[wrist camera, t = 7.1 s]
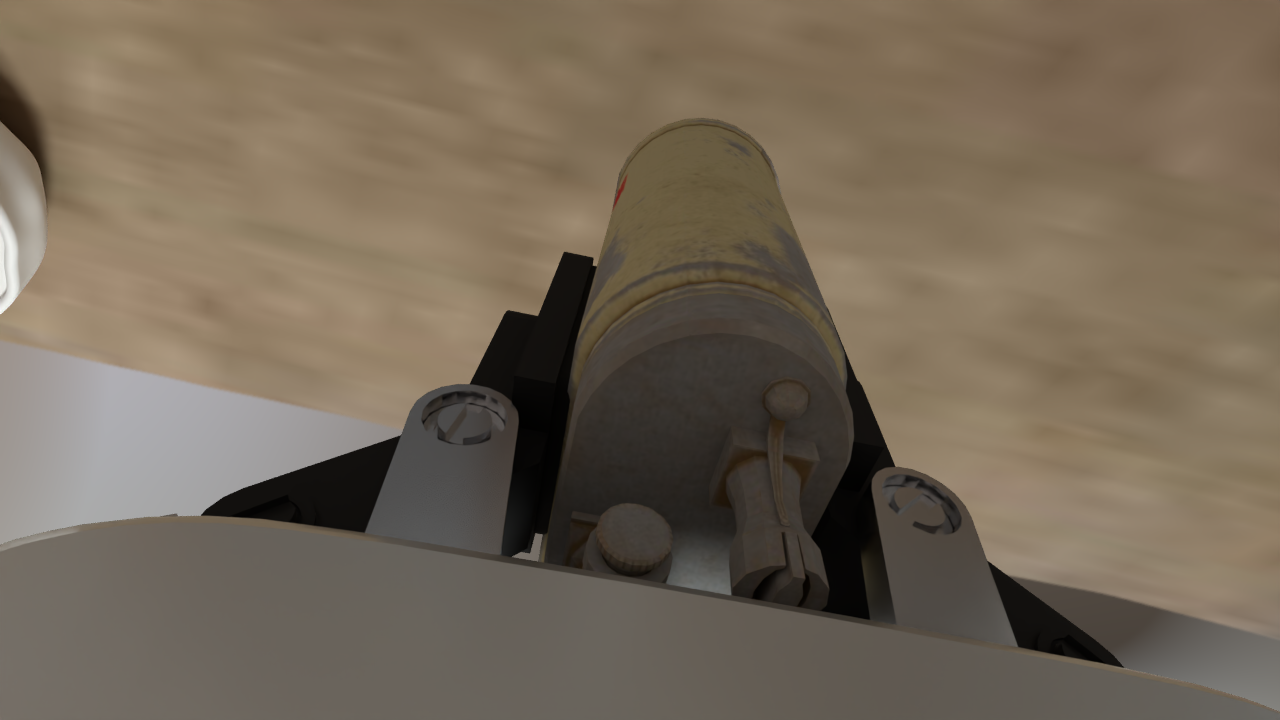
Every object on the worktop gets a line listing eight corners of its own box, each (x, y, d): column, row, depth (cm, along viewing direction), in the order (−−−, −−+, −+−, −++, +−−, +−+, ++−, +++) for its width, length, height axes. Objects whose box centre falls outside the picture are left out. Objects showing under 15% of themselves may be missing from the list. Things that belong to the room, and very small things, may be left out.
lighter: (633, 98, 12) (526, 405, 4) (816, 140, 12) (1085, 515, 4) (581, 381, 16) (472, 836, 8) (720, 409, 16) (759, 879, 8)
